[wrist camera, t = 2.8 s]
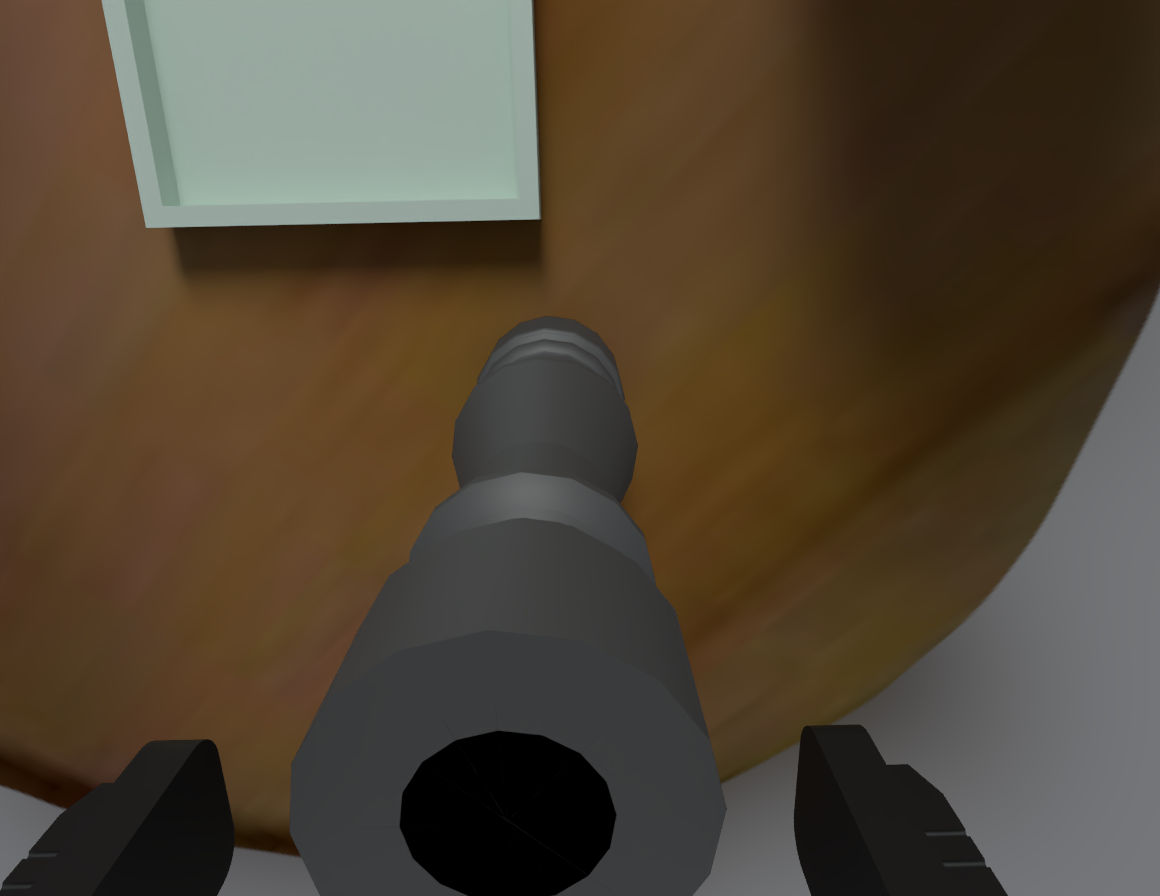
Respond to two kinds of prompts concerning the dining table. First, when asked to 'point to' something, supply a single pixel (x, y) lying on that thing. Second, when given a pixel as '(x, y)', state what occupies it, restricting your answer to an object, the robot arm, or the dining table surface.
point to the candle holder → (518, 671)
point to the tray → (329, 110)
